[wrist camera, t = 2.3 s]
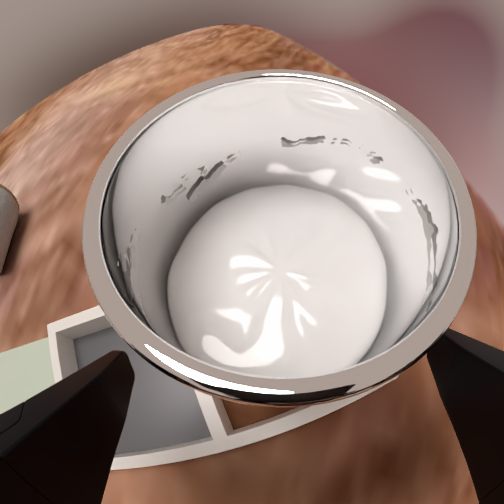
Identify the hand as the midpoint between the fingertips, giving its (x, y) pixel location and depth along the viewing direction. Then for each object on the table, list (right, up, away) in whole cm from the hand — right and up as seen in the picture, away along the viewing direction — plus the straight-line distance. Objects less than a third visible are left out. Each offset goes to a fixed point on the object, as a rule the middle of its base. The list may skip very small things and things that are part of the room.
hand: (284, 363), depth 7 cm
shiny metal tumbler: (+1, -3, +10) cm, 11 cm away
